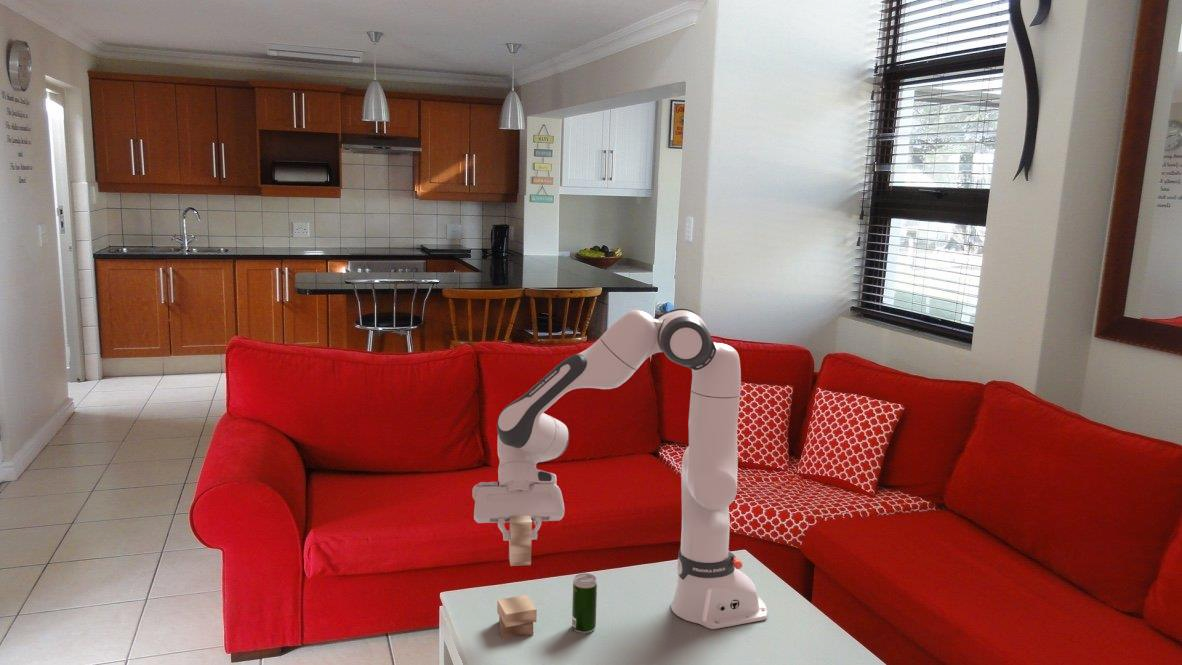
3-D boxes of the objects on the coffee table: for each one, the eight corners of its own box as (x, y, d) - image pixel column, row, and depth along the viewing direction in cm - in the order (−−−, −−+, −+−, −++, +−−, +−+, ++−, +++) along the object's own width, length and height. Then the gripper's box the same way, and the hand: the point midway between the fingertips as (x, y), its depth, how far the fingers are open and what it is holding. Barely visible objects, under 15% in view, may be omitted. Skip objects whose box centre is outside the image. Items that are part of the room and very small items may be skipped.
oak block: (527, 607, 192) (527, 594, 191) (536, 621, 185) (536, 609, 185) (497, 612, 189) (497, 599, 189) (505, 627, 183) (505, 614, 182)
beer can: (580, 636, 185) (581, 586, 183) (567, 626, 189) (568, 576, 187) (600, 630, 188) (602, 580, 186) (587, 619, 192) (588, 570, 190)
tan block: (528, 556, 189) (530, 514, 187) (530, 565, 185) (531, 522, 183) (508, 556, 188) (509, 514, 186) (510, 565, 184) (511, 522, 182)
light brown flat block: (529, 620, 192) (530, 608, 191) (533, 636, 185) (533, 624, 184) (499, 622, 190) (499, 610, 190) (501, 639, 184) (501, 626, 183)
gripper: (472, 476, 188) (473, 535, 180) (562, 474, 192) (567, 532, 184) (471, 488, 193) (472, 546, 186) (559, 486, 197) (564, 542, 189)
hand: (520, 539), depth 185 cm, fingers closed on tan block, 4 cm apart
